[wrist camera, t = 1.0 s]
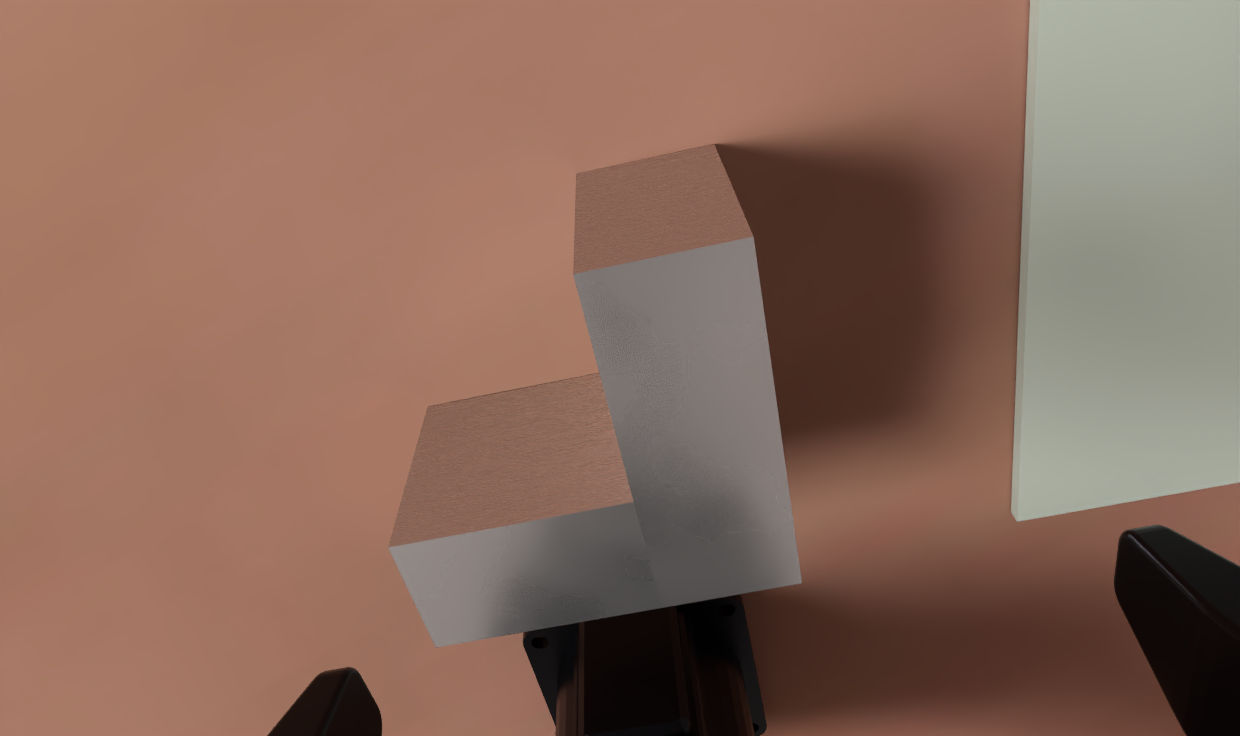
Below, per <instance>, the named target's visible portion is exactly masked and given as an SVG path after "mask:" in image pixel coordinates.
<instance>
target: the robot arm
mask: <svg viewBox="0 0 1240 736" xmlns="http://www.w3.org/2000/svg"><path fill="white" fill-rule="evenodd" d="M1114 588H1115V593H1116V596H1117V599H1118V602H1119V604H1120V606H1121V608H1122V610H1123V612H1124V614H1125V616H1126V618H1127V620H1128V622H1129V624H1130V626H1131V628H1132V630H1133V632H1134V634H1135V636H1136V638H1137V640H1138V642H1139V644H1140V646H1141V648H1142V650H1143V652H1144V654H1145V656H1146V658H1147V660H1148V662H1149V665H1150V667H1151V669H1152V671H1153V673H1154V675H1155V677H1156V679H1157V681H1158V683H1159V685H1160V687H1161V689H1162V691H1163V693H1164V695H1165V697H1166V699H1167V701H1168V703H1169V705H1170V707H1171V709H1172V711H1173V712H1174V714H1175V716H1176V718H1177V720H1178V722H1179V724H1180V726H1181V728H1182V729H1183V731H1184V733H1185V734H1186V736H1240V566H1239V565H1237V564H1235V563H1233V562H1231V561H1229V560H1227V559H1226V558H1224V557H1222V556H1220V555H1218V554H1216V553H1214V552H1213V551H1211V550H1209V549H1207V548H1205V547H1203V546H1201V545H1200V544H1198V543H1196V542H1194V541H1192V540H1190V539H1188V538H1186V537H1185V536H1183V535H1181V534H1179V533H1177V532H1175V531H1173V530H1172V529H1170V528H1167V527H1165V526H1161V525H1152V526H1146V527H1140V528H1135V529H1129V530H1126V531H1124V532H1123V533H1122V534H1121V536H1120V538H1119V543H1118V552H1117V560H1116V568H1115V576H1114ZM724 604H730V605H727V606H721V605H724ZM538 637H544V638H538ZM523 646H524V648H525V651H526V653H527V656H528V658H529V661H530V663H531V666H532V668H533V671H534V673H535V676H536V678H537V681H538V683H539V686H540V688H541V691H542V693H543V696H544V698H545V701H546V703H547V706H548V708H549V711H550V713H551V716H552V718H553V721H554V723H555V726H556V736H760V735H761V734H763V733H764V732H765V730H766V727H767V725H766V720H765V715H764V710H763V704H762V699H761V694H760V689H759V684H758V679H757V673H756V668H755V663H754V658H753V653H752V648H751V642H750V637H749V632H748V627H747V622H746V617H745V611H744V606H743V601H742V597H741V595H740V594H738V595H732V596H727V597H721V598H715V599H710V600H704V601H698V602H692V603H687V604H681V605H675V606H670V607H664V608H658V609H652V610H647V611H641V612H635V613H630V614H624V615H618V616H612V617H607V618H601V619H595V620H590V621H584V622H578V623H573V624H567V625H561V626H555V627H550V628H544V629H538V630H533V631H527V632H524V634H523ZM267 736H382V719H381V714H380V710H379V708H378V706H377V704H376V702H375V700H374V698H373V697H372V695H371V693H370V691H369V690H368V688H367V686H366V684H365V682H364V681H363V679H362V677H361V675H360V674H359V672H358V671H357V670H356V669H354V668H352V667H346V668H340V669H335V670H329V671H324V672H322V673H320V674H319V675H318V676H316V677H315V679H314V680H313V681H312V682H311V683H310V684H309V686H308V687H307V688H306V689H305V691H304V692H303V693H302V694H301V695H300V697H299V698H298V699H297V700H296V701H295V703H294V704H293V705H292V706H291V707H290V709H289V710H288V711H287V712H286V714H285V715H284V716H283V717H282V718H281V720H280V721H279V722H278V723H277V724H276V726H275V727H274V728H273V729H272V731H271V732H270V733H269V734H268V735H267Z"/></svg>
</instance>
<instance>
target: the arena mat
mask: <svg viewBox="0 0 1240 736" xmlns="http://www.w3.org/2000/svg"><path fill="white" fill-rule="evenodd" d="M1239 482H1240V0H1030V19H1029V46H1028V72H1027V99H1026V126H1025V153H1024V179H1023V206H1022V233H1021V260H1020V286H1019V313H1018V340H1017V367H1016V393H1015V420H1014V447H1013V473H1012V500H1011V513H1012V514H1013V516H1014V517H1015V519H1016V521H1017V522H1018V521H1024V520H1030V519H1035V518H1041V517H1047V516H1052V515H1058V514H1064V513H1069V512H1075V511H1081V510H1086V509H1092V508H1098V507H1103V506H1109V505H1114V504H1120V503H1126V502H1131V501H1137V500H1143V499H1148V498H1154V497H1160V496H1165V495H1171V494H1177V493H1182V492H1188V491H1194V490H1199V489H1205V488H1211V487H1216V486H1222V485H1228V484H1233V483H1239Z"/></svg>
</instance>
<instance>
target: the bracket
mask: <svg viewBox="0 0 1240 736" xmlns="http://www.w3.org/2000/svg"><path fill="white" fill-rule="evenodd" d="M573 275H574V279H575V283H576V286H577V290H578V294H579V298H580V302H581V305H582V309H583V313H584V317H585V320H586V324H587V328H588V332H589V335H590V339H591V343H592V347H593V351H594V354H595V358H596V362H597V366H598V369H599V373H597V374H592V375H587V376H581V377H576V378H571V379H566V380H561V381H556V382H551V383H546V384H541V385H536V386H531V387H526V388H521V389H516V390H511V391H506V392H501V393H496V394H491V395H486V396H481V397H476V398H471V399H466V400H461V401H456V402H451V403H445V404H440V405H435V406H430V407H427V410H426V414H425V417H424V421H423V425H422V428H421V432H420V435H419V439H418V442H417V446H416V450H415V453H414V457H413V460H412V464H411V467H410V471H409V475H408V478H407V482H406V485H405V489H404V493H403V496H402V500H401V503H400V507H399V510H398V514H397V518H396V521H395V525H394V528H393V532H392V535H391V539H390V543H389V546H388V548H389V551H390V553H391V555H392V557H393V559H394V561H395V563H396V565H397V567H398V569H399V571H400V574H401V576H402V578H403V580H404V582H405V584H406V586H407V588H408V590H409V592H410V594H411V596H412V599H413V601H414V603H415V605H416V607H417V609H418V611H419V613H420V615H421V617H422V619H423V622H424V624H425V626H426V628H427V630H428V632H429V634H430V636H431V638H432V640H433V642H434V645H435V647H441V646H447V645H453V644H458V643H464V642H470V641H475V640H481V639H487V638H493V637H498V636H504V635H510V634H515V633H521V632H527V631H533V630H538V629H544V628H550V627H555V626H561V625H567V624H573V623H578V622H584V621H590V620H595V619H601V618H607V617H612V616H618V615H624V614H630V613H635V612H641V611H647V610H652V609H658V608H664V607H670V606H675V605H681V604H687V603H692V602H698V601H704V600H710V599H715V598H721V597H727V596H732V595H738V594H744V593H749V592H755V591H761V590H767V589H772V588H778V587H784V586H789V585H795V584H801V583H802V580H801V573H800V565H799V558H798V551H797V544H796V537H795V530H794V522H793V515H792V508H791V501H790V494H789V487H788V480H787V472H786V465H785V458H784V451H783V444H782V437H781V429H780V422H779V415H778V408H777V401H776V394H775V386H774V379H773V372H772V365H771V358H770V351H769V343H768V336H767V329H766V322H765V315H764V308H763V301H762V293H761V286H760V279H759V272H758V265H757V258H756V250H755V243H754V236H753V234H752V232H751V229H750V227H749V225H748V222H747V220H746V218H745V215H744V213H743V211H742V208H741V206H740V203H739V201H738V199H737V196H736V194H735V192H734V189H733V187H732V185H731V182H730V180H729V178H728V175H727V173H726V171H725V168H724V166H723V163H722V161H721V159H720V156H719V154H718V152H717V149H716V147H715V145H714V144H712V145H708V146H703V147H698V148H694V149H689V150H685V151H680V152H676V153H671V154H666V155H662V156H657V157H653V158H648V159H643V160H639V161H634V162H630V163H625V164H620V165H616V166H611V167H607V168H602V169H598V170H593V171H588V172H584V173H579V174H576V196H575V231H574V266H573Z"/></svg>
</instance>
